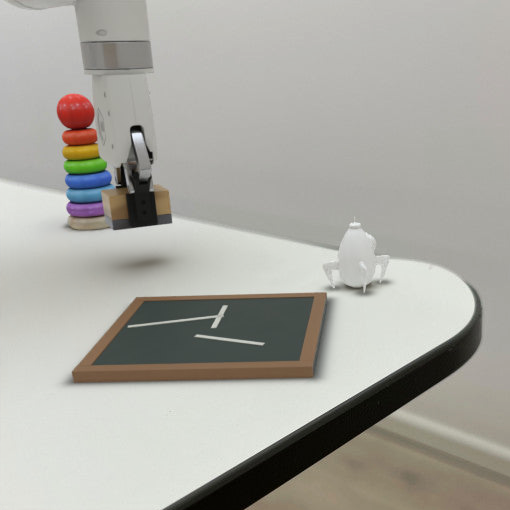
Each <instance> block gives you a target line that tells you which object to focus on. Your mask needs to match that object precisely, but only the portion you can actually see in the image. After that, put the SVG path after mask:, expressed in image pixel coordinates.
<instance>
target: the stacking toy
mask: <svg viewBox="0 0 510 510" xmlns="http://www.w3.org/2000/svg"><path fill="white" fill-rule="evenodd" d="M56 115H57V118H58V120H59V123H61V125H62V126H63V127H65V128H66V129H67V130H64V131H63V132H62V134H61V139H62V142H63V143H64V144H65V146H64V147H63V148H62V150H61V153H62V157H64V159H66V160H65V161H64V162H63V169H64V171H65V172H66V173H67V174H66V175H65V177H64V182H65V185H66V186H67V189H66V191H65V195H66V199H68V202H67V203H66V205H65V206H66V207H65V210H66V212H67V213H68V214H69V216H68V217H67V225H68V226H69V227H70V228H71V229H73V230H77V231H78V230H79V231H93V230H94V231H95V230H102V229H107V228H110V227H109V226H108V225H107V224H106V222H105V215H104V214H105V213H104V209H103V202H102V195H101V190H107V189H116V187H115V185H114V184H112V180H113V176H112V173H111V172H110V171H109V170H107V167H108V163H107V162H106V161H104V160H103V159H102V158H101V157H100V155H99V151H98V142H97V132H96V128H92V127H91V126H92V125H93V122H94V120H95V113H94V104H93V103H92V102H91V100H90V99H88V97H86V96H85V95H82V94H79V93H68V94H65V95H64V96H62V97H61V98H60V99H59V101H58V102H57V105H56Z"/></svg>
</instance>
